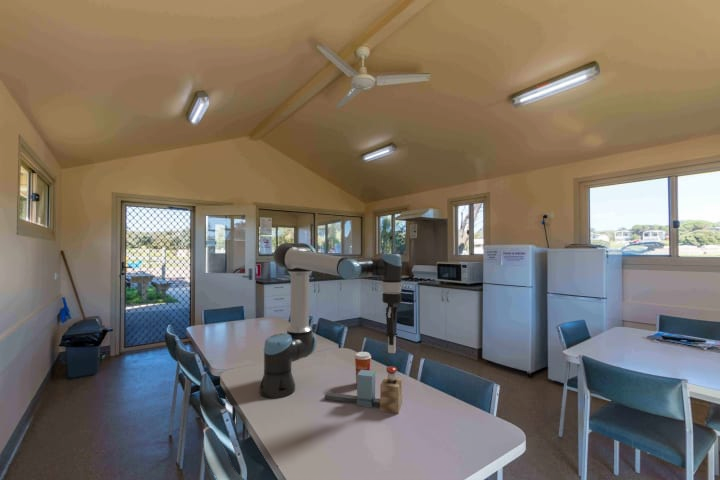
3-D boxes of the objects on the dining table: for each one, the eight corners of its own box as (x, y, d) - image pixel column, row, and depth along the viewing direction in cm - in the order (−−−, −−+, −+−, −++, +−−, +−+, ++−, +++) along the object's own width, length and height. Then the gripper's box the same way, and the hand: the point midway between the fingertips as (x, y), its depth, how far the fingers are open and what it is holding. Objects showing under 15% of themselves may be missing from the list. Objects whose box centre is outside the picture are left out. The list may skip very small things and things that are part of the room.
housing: (380, 411, 129) (380, 384, 130) (384, 401, 138) (385, 376, 138) (398, 413, 127) (398, 387, 128) (401, 403, 136) (401, 378, 136)
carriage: (356, 405, 133) (357, 374, 134) (360, 398, 139) (361, 369, 140) (371, 407, 132) (371, 376, 132) (375, 400, 138) (375, 371, 138)
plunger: (385, 385, 132) (385, 369, 132) (387, 381, 135) (387, 365, 136) (395, 386, 131) (395, 370, 131) (397, 382, 134) (397, 366, 135)
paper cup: (351, 386, 153) (351, 355, 153) (359, 380, 160) (359, 350, 160) (366, 389, 149) (366, 357, 150) (374, 383, 156) (374, 353, 156)
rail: (324, 399, 139) (324, 395, 139) (327, 396, 142) (327, 392, 142) (381, 407, 132) (381, 402, 132) (383, 404, 135) (383, 399, 135)
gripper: (398, 295, 127) (398, 358, 126) (403, 291, 139) (403, 348, 139) (379, 294, 129) (378, 356, 128) (385, 290, 141) (385, 347, 141)
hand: (391, 352), depth 133 cm, fingers closed
